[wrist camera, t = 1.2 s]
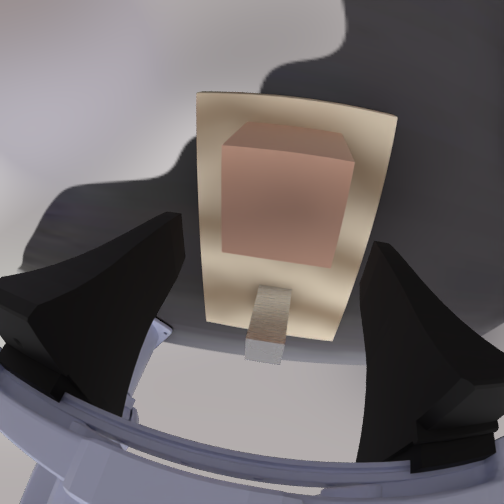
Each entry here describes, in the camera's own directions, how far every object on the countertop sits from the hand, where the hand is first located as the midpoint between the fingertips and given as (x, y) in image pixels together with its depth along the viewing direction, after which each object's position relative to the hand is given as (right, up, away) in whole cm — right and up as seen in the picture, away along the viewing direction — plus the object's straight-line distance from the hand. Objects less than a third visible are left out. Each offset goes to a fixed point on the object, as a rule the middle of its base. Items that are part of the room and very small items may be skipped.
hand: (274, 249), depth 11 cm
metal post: (+1, -4, +13) cm, 14 cm away
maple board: (+1, +1, +11) cm, 11 cm away
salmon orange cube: (+2, +5, +7) cm, 9 cm away
